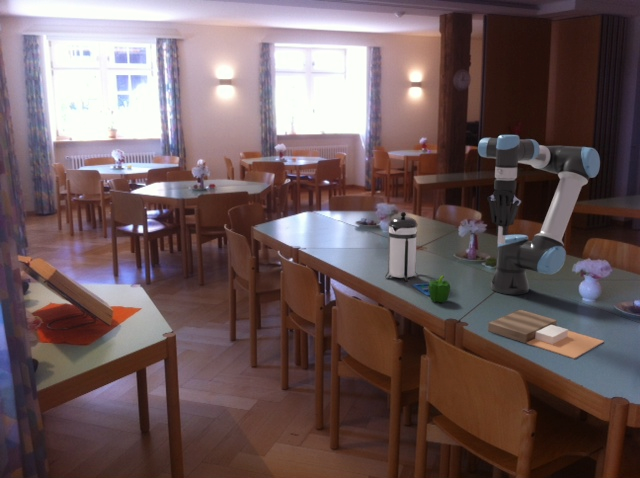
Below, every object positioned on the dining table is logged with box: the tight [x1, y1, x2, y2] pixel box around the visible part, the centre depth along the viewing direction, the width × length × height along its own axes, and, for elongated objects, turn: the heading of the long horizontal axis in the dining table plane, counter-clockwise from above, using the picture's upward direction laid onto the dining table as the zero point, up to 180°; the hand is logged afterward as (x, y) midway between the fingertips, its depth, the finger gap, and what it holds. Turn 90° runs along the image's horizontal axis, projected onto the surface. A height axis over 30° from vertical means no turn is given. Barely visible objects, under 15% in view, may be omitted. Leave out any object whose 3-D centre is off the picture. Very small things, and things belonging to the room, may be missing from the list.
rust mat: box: [526, 330, 605, 360], centre depth 194 cm, size 20×16×1 cm
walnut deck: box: [487, 309, 558, 344], centre depth 205 cm, size 20×14×3 cm
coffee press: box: [384, 211, 419, 283], centre depth 265 cm, size 17×16×30 cm
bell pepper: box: [429, 275, 451, 303], centre depth 235 cm, size 8×8×10 cm
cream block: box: [535, 325, 569, 344], centre depth 197 cm, size 10×6×2 cm, turn 131°
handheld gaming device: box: [412, 282, 430, 297], centre depth 250 cm, size 8×1×15 cm
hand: (501, 243), depth 217 cm, fingers closed
